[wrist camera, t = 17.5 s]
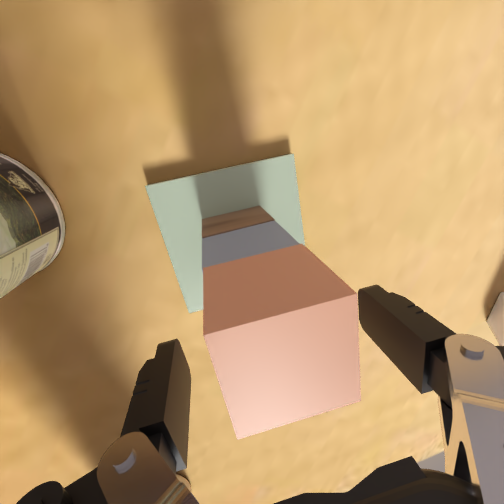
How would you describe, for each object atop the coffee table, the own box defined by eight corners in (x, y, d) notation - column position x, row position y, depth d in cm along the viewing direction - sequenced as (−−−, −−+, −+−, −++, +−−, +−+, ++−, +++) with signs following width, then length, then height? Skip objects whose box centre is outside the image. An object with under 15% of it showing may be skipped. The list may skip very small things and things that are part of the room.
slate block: (285, 283, 19) (311, 324, 15) (220, 301, 19) (226, 349, 14) (274, 220, 18) (300, 244, 13) (201, 238, 17) (201, 270, 12)
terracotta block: (311, 324, 15) (360, 401, 10) (226, 347, 14) (237, 439, 10) (302, 243, 13) (357, 293, 8) (203, 267, 12) (203, 335, 8)
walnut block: (269, 258, 24) (285, 283, 19) (216, 271, 24) (219, 300, 19) (259, 205, 22) (274, 219, 17) (201, 219, 22) (201, 237, 17)
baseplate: (305, 276, 27) (309, 281, 26) (189, 307, 25) (189, 313, 25) (289, 153, 22) (293, 153, 21) (147, 184, 21) (145, 186, 20)
